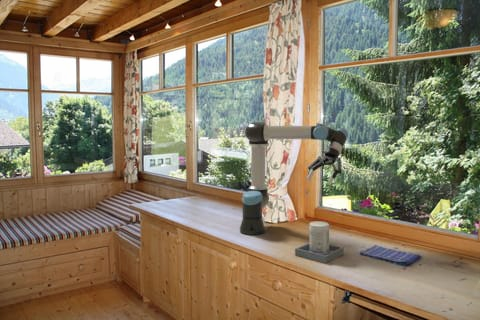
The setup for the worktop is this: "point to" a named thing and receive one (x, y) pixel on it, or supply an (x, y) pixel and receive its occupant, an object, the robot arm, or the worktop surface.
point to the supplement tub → (319, 237)
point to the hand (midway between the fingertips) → (318, 181)
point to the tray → (333, 253)
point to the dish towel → (390, 255)
